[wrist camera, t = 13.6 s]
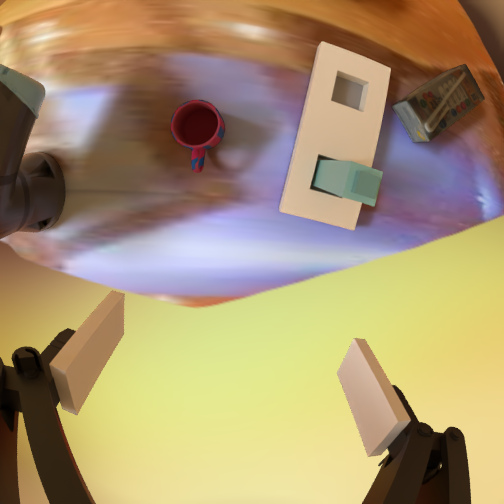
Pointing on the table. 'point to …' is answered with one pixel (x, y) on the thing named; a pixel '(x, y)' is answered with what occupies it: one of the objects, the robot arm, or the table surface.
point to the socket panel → (335, 131)
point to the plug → (348, 180)
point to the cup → (197, 129)
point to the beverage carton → (438, 104)
